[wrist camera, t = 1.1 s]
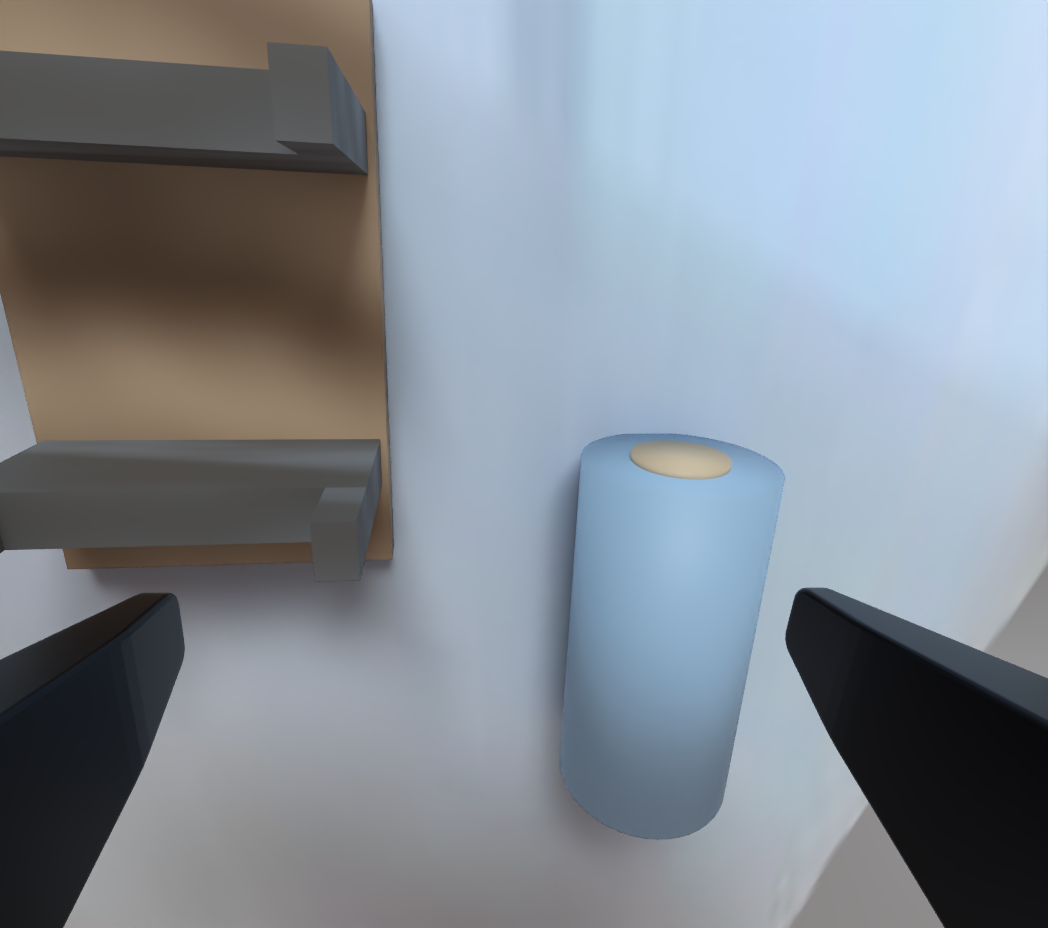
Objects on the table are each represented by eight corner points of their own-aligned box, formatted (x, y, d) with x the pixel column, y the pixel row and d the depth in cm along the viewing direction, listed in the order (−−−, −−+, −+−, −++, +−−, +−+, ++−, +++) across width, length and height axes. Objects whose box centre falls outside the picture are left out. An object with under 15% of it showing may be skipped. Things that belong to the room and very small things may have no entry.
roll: (686, 707, 26) (754, 835, 21) (547, 717, 25) (577, 852, 20) (730, 426, 22) (830, 491, 16) (564, 427, 21) (610, 495, 16)
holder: (393, 545, 22) (374, 678, 15) (84, 554, 20) (-83, 703, 14) (372, 1, 16) (328, -157, 10) (-52, -36, 15) (-432, -248, 8)
